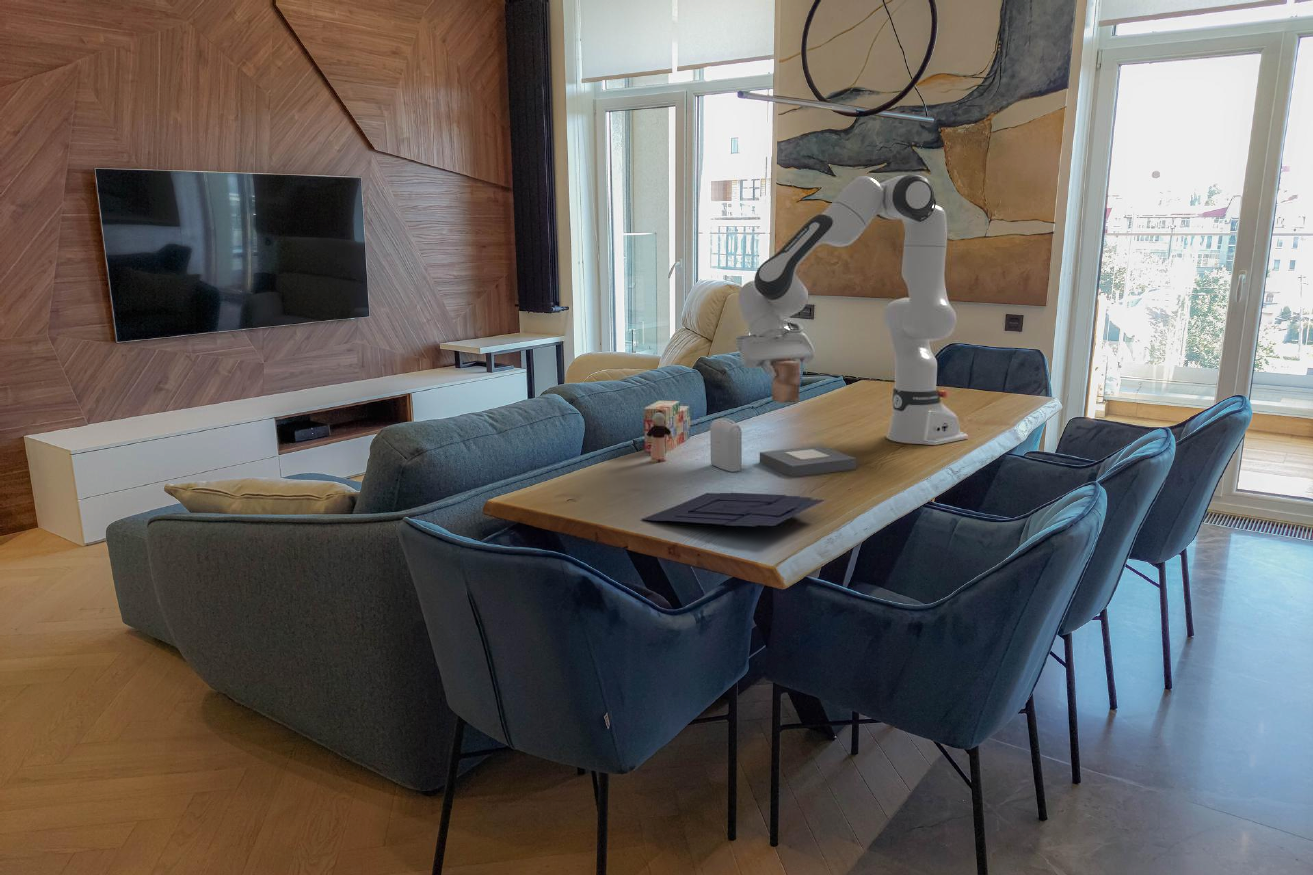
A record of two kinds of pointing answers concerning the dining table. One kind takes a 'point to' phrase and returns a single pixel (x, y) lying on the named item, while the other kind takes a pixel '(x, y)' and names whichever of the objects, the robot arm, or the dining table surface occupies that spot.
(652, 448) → the grandmother figurine
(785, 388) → the terracotta block
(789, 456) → the base plate
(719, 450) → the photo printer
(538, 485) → the dining table surface
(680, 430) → the stack of blocks
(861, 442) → the dining table surface
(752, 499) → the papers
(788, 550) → the dining table surface
